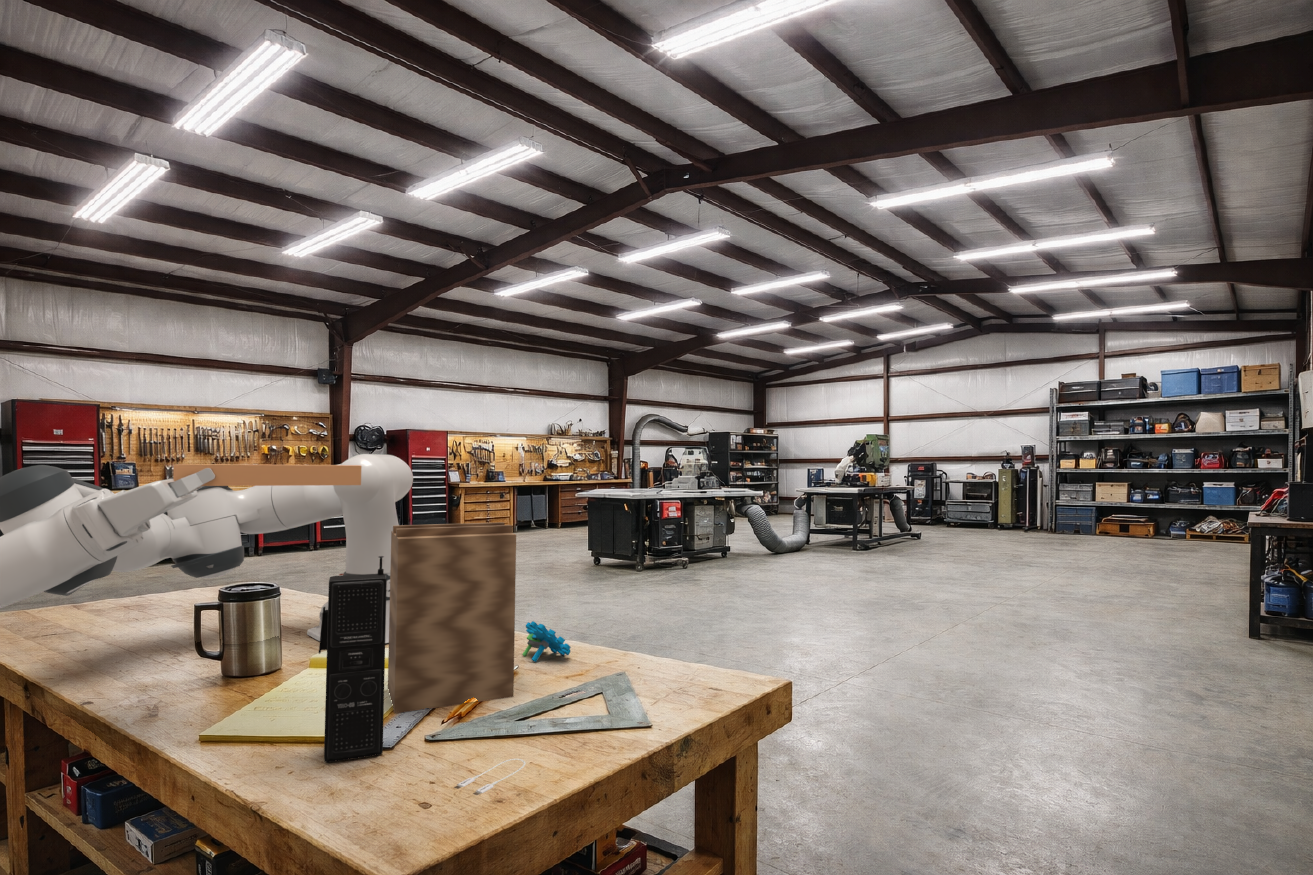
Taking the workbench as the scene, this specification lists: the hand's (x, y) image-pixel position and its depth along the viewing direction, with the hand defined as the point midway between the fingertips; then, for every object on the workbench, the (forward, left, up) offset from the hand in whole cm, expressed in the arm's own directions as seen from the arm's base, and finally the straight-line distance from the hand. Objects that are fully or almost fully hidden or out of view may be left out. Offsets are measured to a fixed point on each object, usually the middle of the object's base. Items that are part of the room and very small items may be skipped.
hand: (215, 471), depth 99 cm
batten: (+4, +6, -2) cm, 7 cm away
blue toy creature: (+15, +53, -36) cm, 66 cm away
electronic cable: (+45, +13, -37) cm, 59 cm away
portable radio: (+25, +6, -36) cm, 44 cm away
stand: (+17, +29, -36) cm, 49 cm away
